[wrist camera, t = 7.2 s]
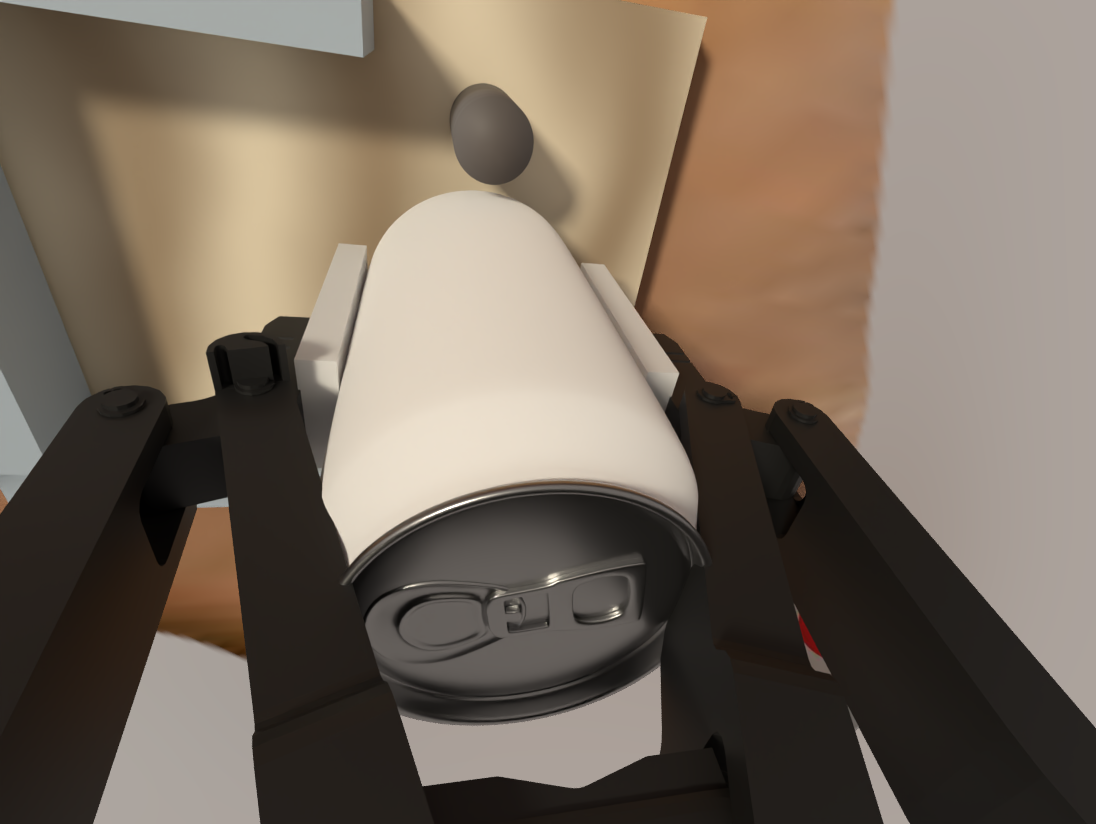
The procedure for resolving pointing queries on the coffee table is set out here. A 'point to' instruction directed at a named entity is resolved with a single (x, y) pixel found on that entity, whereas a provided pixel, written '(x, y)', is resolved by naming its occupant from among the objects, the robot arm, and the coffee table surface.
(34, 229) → the base plate
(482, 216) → the can
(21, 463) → the grey frame
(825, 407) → the coffee table surface
